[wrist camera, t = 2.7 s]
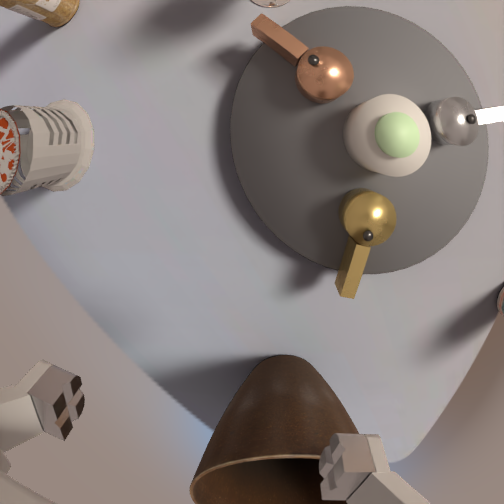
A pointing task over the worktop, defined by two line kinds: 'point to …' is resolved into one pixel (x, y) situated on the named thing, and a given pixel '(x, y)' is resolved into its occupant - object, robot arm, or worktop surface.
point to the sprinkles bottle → (44, 9)
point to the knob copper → (308, 62)
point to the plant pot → (272, 438)
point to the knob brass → (362, 234)
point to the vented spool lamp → (45, 146)
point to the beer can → (501, 302)
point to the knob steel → (458, 120)
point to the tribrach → (357, 140)
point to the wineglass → (270, 2)
